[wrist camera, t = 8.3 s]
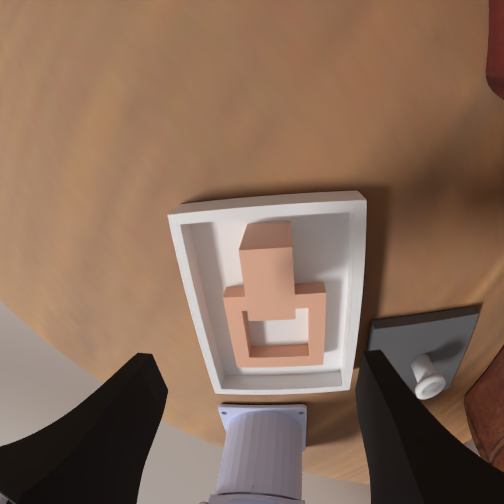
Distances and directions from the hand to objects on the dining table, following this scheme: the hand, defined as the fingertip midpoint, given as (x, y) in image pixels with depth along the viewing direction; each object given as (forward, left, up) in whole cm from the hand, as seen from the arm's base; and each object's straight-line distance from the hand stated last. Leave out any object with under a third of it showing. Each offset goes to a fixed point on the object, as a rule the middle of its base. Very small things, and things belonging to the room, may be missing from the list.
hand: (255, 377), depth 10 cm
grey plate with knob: (-9, -11, -9) cm, 17 cm away
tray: (-3, 0, -9) cm, 10 cm away
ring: (-3, 0, -9) cm, 9 cm away
